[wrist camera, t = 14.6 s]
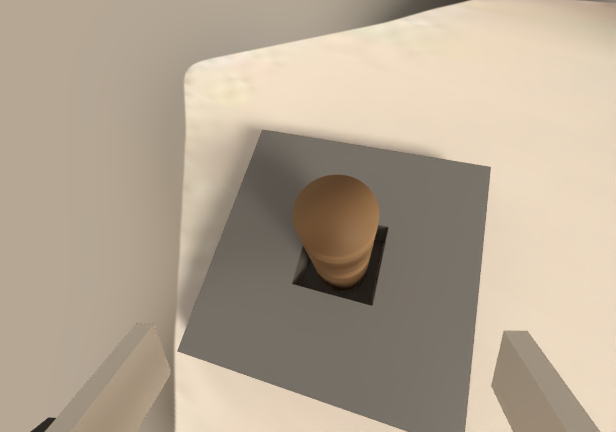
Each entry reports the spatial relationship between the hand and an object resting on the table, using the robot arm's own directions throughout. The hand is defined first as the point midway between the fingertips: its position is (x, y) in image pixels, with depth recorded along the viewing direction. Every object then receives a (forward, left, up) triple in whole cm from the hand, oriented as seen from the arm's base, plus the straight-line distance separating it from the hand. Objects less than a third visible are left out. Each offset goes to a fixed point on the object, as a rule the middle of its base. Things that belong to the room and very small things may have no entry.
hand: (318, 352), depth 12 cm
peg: (+1, -6, -15) cm, 16 cm away
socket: (+1, -6, -15) cm, 16 cm away
